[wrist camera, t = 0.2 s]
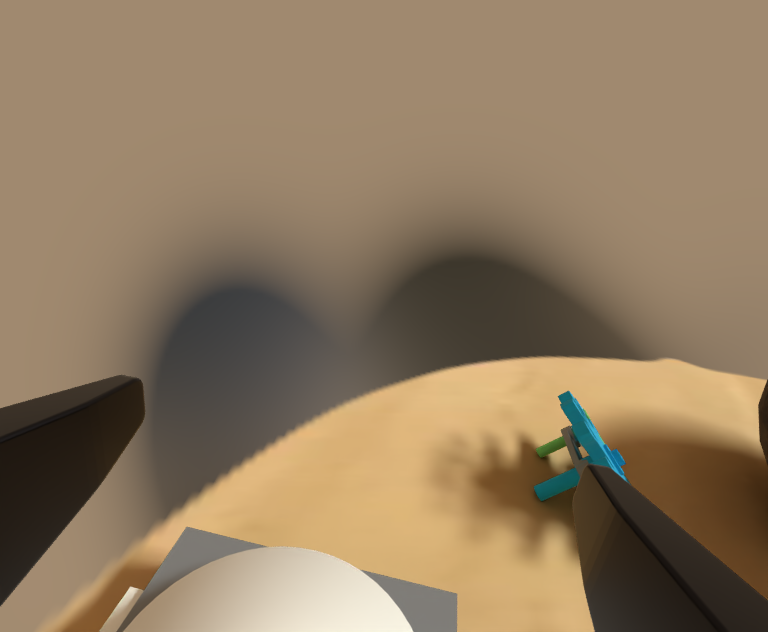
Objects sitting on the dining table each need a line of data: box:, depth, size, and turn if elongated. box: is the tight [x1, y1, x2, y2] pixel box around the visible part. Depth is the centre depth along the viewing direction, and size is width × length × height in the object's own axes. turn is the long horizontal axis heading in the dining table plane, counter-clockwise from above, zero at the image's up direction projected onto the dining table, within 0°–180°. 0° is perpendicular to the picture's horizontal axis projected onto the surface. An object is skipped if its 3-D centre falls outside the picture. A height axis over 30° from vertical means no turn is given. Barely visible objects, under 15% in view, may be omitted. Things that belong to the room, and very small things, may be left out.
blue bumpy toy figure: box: [534, 391, 631, 501], centre depth 31 cm, size 11×6×10 cm
